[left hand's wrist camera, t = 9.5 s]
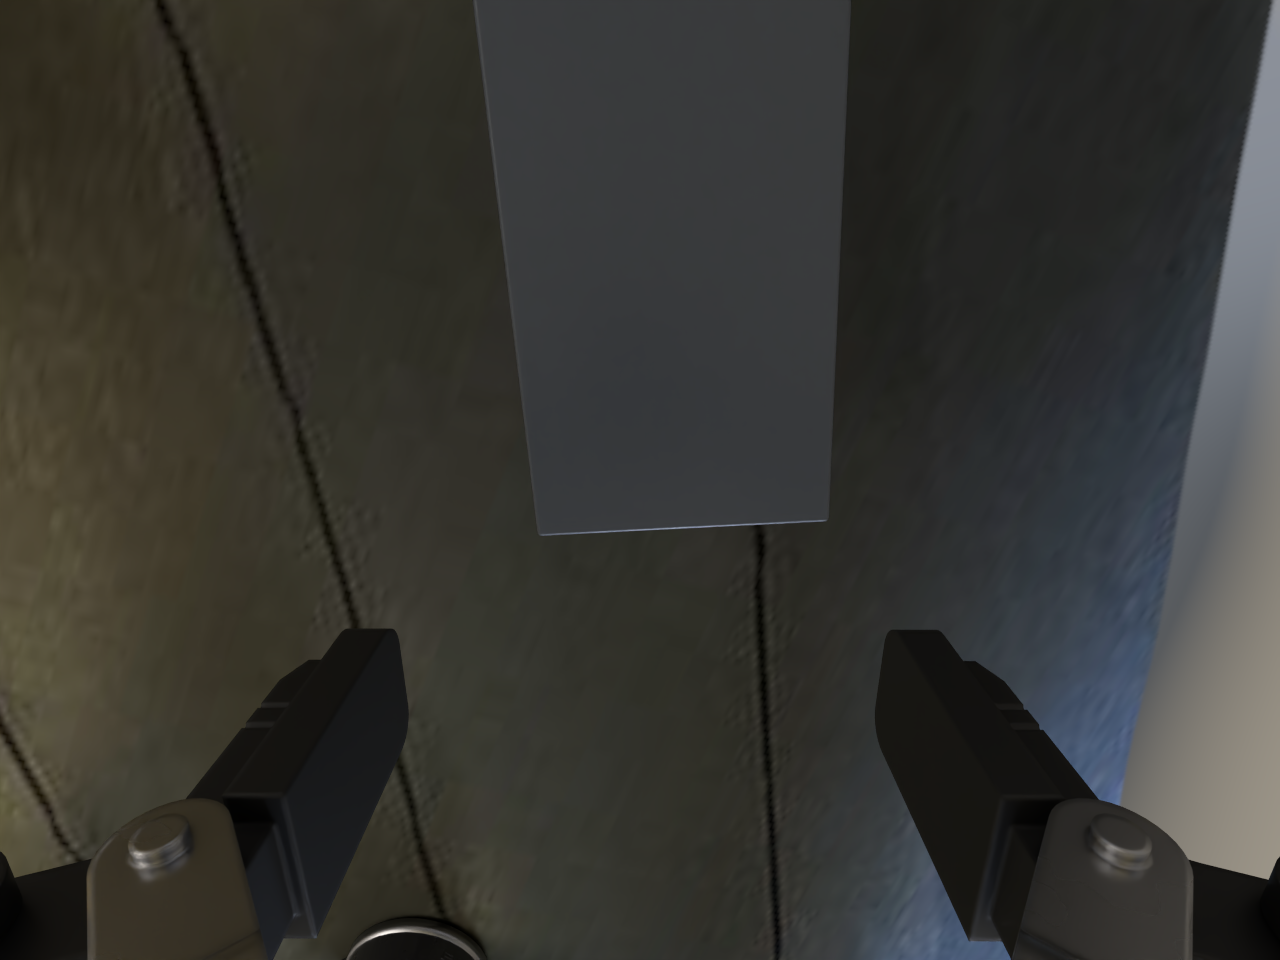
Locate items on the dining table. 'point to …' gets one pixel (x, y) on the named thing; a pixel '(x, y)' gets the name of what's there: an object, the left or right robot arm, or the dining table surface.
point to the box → (671, 252)
